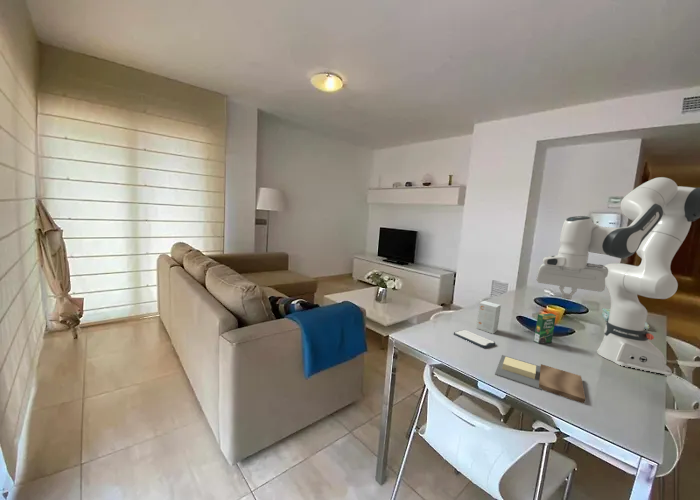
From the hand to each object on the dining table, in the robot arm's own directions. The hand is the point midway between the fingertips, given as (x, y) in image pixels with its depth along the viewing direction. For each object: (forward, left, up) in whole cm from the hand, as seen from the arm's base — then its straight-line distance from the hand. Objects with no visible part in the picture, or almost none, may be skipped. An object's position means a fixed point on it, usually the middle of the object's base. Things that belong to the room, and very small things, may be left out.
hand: (566, 298), depth 112 cm
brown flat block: (-2, +14, -26) cm, 30 cm away
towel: (-34, -98, -27) cm, 107 cm away
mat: (+10, +14, -26) cm, 32 cm away
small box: (+27, -21, -27) cm, 44 cm away
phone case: (+30, -4, -27) cm, 40 cm away
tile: (+11, +14, -26) cm, 31 cm away
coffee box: (+4, -24, -27) cm, 36 cm away
